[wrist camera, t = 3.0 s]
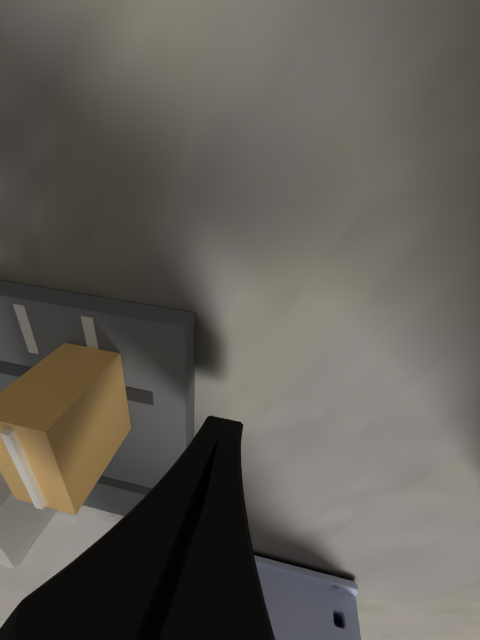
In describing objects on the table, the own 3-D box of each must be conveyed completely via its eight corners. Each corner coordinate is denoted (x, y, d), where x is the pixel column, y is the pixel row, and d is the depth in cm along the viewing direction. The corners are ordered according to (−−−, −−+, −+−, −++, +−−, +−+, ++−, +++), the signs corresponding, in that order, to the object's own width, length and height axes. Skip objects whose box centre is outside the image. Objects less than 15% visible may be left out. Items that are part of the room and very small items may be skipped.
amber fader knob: (120, 353, 12) (40, 437, 8) (131, 428, 14) (72, 521, 10) (64, 342, 12) (-37, 419, 8) (84, 417, 14) (10, 504, 11)
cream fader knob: (52, 446, 16) (-20, 528, 12) (69, 492, 18) (12, 573, 15) (13, 436, 16) (-69, 514, 13) (34, 483, 19) (-31, 560, 15)
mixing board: (195, 312, 12) (184, 327, 11) (193, 512, 19) (186, 533, 18) (-132, 258, 14) (-168, 266, 13) (-19, 458, 21) (-36, 474, 20)
